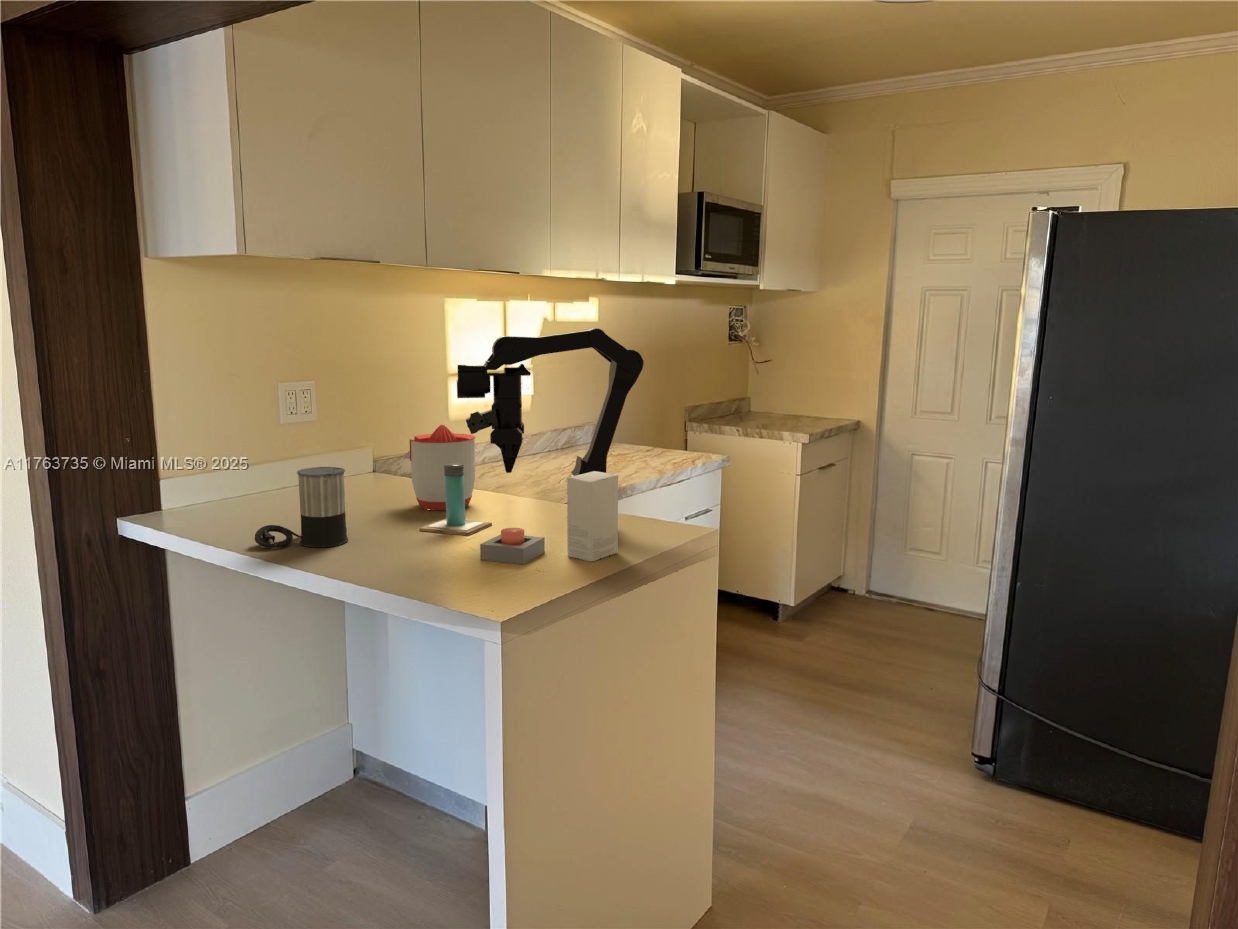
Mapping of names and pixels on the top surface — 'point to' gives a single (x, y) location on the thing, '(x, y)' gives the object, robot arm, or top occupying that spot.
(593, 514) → the skincare box
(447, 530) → the brown picture frame
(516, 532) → the button
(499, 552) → the button box
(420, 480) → the citrus juicer
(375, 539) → the top surface
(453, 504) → the marker
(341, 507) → the milk frother
